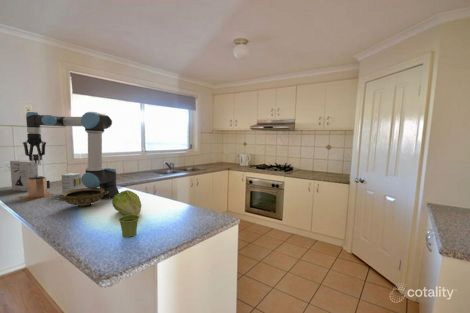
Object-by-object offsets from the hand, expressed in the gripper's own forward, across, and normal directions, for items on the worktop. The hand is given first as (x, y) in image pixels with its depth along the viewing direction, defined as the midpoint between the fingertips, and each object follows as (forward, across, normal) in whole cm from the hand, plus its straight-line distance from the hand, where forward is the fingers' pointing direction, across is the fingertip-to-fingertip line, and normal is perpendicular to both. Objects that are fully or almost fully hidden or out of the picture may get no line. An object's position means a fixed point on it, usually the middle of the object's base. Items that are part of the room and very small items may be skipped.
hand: (35, 164), depth 167 cm
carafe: (+24, -1, 0) cm, 24 cm away
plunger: (+16, 0, 0) cm, 16 cm away
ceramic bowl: (+26, -10, +48) cm, 55 cm away
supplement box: (+26, -19, +9) cm, 33 cm away
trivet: (+25, 0, 0) cm, 25 cm away
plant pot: (+26, +1, +114) cm, 117 cm away
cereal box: (+26, -4, -40) cm, 47 cm away
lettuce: (+26, -17, +87) cm, 92 cm away
